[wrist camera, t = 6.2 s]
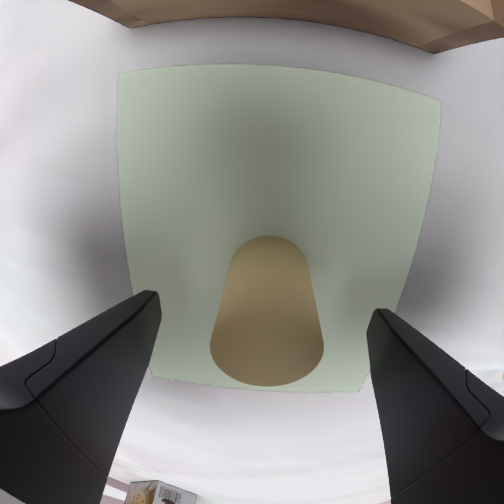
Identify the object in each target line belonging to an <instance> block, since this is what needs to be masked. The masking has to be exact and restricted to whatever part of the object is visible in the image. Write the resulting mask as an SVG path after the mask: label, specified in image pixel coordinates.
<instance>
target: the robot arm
mask: <svg viewBox="0 0 504 504" xmlns="http://www.w3.org/2000/svg"><path fill="white" fill-rule="evenodd" d="M161 320H162V311H161V304H160V297H159V294H158V292H157V291H153V290H143V291H141V292H140V293H138V294H136V295H134V296H132V297H130V298H129V299H127V300H125V301H123V302H121V303H119V304H118V305H116V306H114V307H112V308H110V309H108V310H107V311H105V312H103V313H101V314H99V315H97V316H96V317H94V318H92V319H90V320H88V321H87V322H85V323H83V324H81V325H79V326H78V327H76V328H74V329H72V330H70V331H69V332H67V333H65V334H63V335H61V336H60V337H58V338H57V339H54V340H53V341H51V342H49V343H47V344H45V345H44V346H42V347H40V348H38V349H36V350H34V351H32V352H30V353H28V354H26V355H24V356H22V357H20V358H18V359H16V360H14V361H12V362H9V363H7V364H5V365H3V366H1V367H0V504H100V501H101V498H102V494H103V491H104V488H105V485H106V481H107V477H108V475H109V472H110V469H111V465H112V462H113V459H114V457H115V454H116V451H117V448H118V445H119V442H120V439H121V436H122V433H123V431H124V428H125V425H126V422H127V420H128V417H129V414H130V412H131V409H132V406H133V404H134V401H135V398H136V396H137V393H138V390H139V388H140V385H141V383H142V380H143V378H144V375H145V373H146V370H147V368H148V365H149V362H150V359H151V356H152V352H153V348H154V345H155V341H156V337H157V334H158V330H159V327H160V323H161ZM366 338H367V345H368V353H369V362H370V371H371V379H372V384H373V389H374V393H375V398H376V403H377V408H378V413H379V419H380V424H381V430H382V436H383V442H384V448H385V455H386V462H387V469H388V477H389V485H390V495H391V497H392V498H391V504H504V397H503V396H502V395H500V394H499V393H498V392H496V391H495V390H493V389H492V388H491V387H489V386H488V385H486V384H485V383H484V382H483V381H481V380H480V379H479V378H477V377H476V376H475V375H474V374H472V373H471V372H470V371H469V370H467V369H466V370H465V367H464V366H462V365H461V364H460V363H459V362H457V361H456V360H455V359H453V358H452V357H451V356H450V355H448V354H447V353H446V352H445V351H443V350H442V349H441V348H439V347H438V346H437V345H435V344H434V343H433V342H432V341H430V340H429V339H428V338H426V337H425V336H424V335H422V334H421V333H420V332H418V331H417V330H416V329H415V328H413V327H412V326H411V325H409V324H408V323H407V322H405V321H404V320H403V319H401V318H400V317H399V316H397V315H396V314H395V313H393V312H392V311H390V310H389V309H387V308H376V309H375V310H374V311H373V314H372V317H371V320H370V322H369V325H368V328H367V332H366Z"/></svg>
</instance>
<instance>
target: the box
mask: <svg viewBox="0 0 504 504" xmlns="http://www.w3.org/2000/svg"><path fill="white" fill-rule="evenodd" d="M69 1H71V2H74V3H76V4H79V5H81V6H83V7H86V8H88V9H90V10H93V11H95V12H97V13H99V14H101V15H104V16H106V17H108V18H110V19H112V20H114V21H116V22H118V23H120V24H122V25H124V26H126V27H128V28H134V27H139V26H144V25H150V24H156V23H162V22H169V21H177V20H186V19H197V18H211V17H268V18H283V19H294V20H303V21H311V22H318V23H324V24H330V25H336V26H341V27H346V28H351V29H356V30H360V31H364V32H368V33H372V34H376V35H380V36H383V37H387V38H390V39H393V40H397V41H400V42H403V43H406V44H409V45H412V46H415V47H417V48H420V49H423V50H426V51H428V52H431V53H433V54H437V53H440V52H443V51H447V50H450V49H454V48H458V47H462V46H466V45H470V44H474V43H478V42H483V41H487V40H492V39H497V38H503V37H504V0H69Z"/></svg>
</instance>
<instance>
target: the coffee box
mask: <svg viewBox="0 0 504 504" xmlns="http://www.w3.org/2000/svg"><path fill="white" fill-rule="evenodd" d="M196 497H197V495H196V494H193V493H190V492H187V491H184V490H182V489H179V488H176V487H173V486H171V485H168V484H166V483H163V482H161V481H148V482H136V483H130V486H129V490H128V493H127V496H126V500H125V503H124V504H195V503H196Z"/></svg>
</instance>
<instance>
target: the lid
mask: <svg viewBox="0 0 504 504" xmlns="http://www.w3.org/2000/svg"><path fill="white" fill-rule="evenodd" d="M441 105H442V101H440V100H437V99H434V98H431V97H429V96H426V95H423V94H420V93H416V92H413V91H410V90H407V89H403V88H400V87H396V86H393V85H389V84H385V83H381V82H377V81H373V80H369V79H364V78H359V77H355V76H350V75H344V74H339V73H333V72H327V71H320V70H313V69H305V68H296V67H286V66H274V65H257V64H200V65H183V66H171V67H161V68H152V69H144V70H137V71H131V72H125V73H119V74H118V90H117V165H118V182H119V196H120V207H121V217H122V227H123V235H124V243H125V250H126V257H127V263H128V269H129V275H130V281H131V287H132V292H133V296H134V295H136V294H138V293H140V292H141V291H143V290H153V291H157V292H158V294H159V297H160V304H161V311H162V320H161V323H160V327H159V330H158V334H157V337H156V341H155V345H154V348H153V352H152V356H151V359H150V362H149V365H150V369H151V372H152V376H154V377H159V378H164V379H170V380H176V381H182V382H188V383H194V384H201V385H209V386H217V387H225V388H235V389H246V390H258V391H275V392H305V393H330V392H359V391H360V389H361V387H362V385H363V383H364V381H365V379H366V377H367V375H368V373H369V371H370V362H369V353H368V345H367V338H366V332H367V328H368V325H369V322H370V320H371V317H372V314H373V311H374V310H375V309H376V308H387V309H389V310H390V311H392V312H393V313H395V311H396V308H397V306H398V303H399V300H400V297H401V295H402V292H403V289H404V286H405V283H406V280H407V277H408V274H409V271H410V268H411V265H412V261H413V258H414V255H415V251H416V248H417V244H418V241H419V237H420V233H421V229H422V225H423V221H424V217H425V213H426V208H427V204H428V199H429V194H430V189H431V184H432V179H433V173H434V167H435V161H436V154H437V146H438V138H439V129H440V119H441Z"/></svg>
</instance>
